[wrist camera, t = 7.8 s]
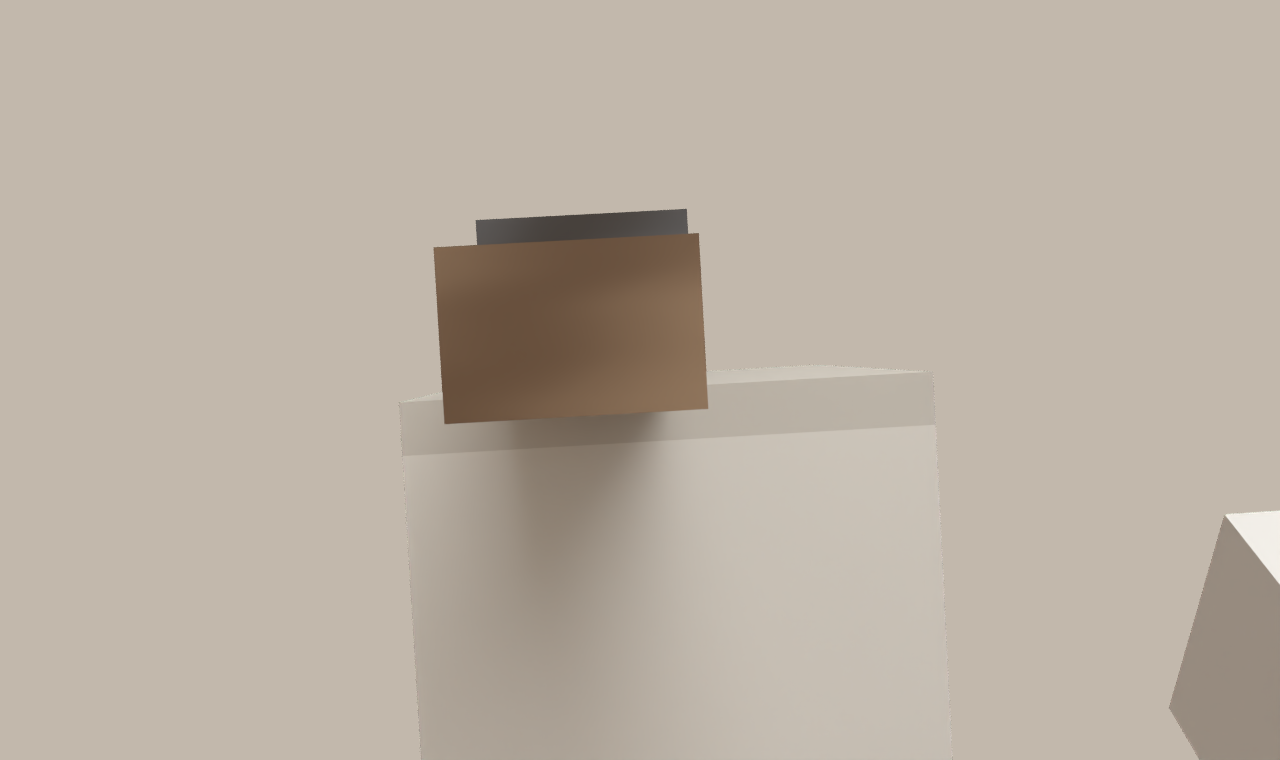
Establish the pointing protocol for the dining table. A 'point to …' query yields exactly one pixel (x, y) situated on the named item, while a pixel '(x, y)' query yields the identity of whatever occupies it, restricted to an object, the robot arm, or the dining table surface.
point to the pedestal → (684, 576)
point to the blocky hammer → (572, 318)
